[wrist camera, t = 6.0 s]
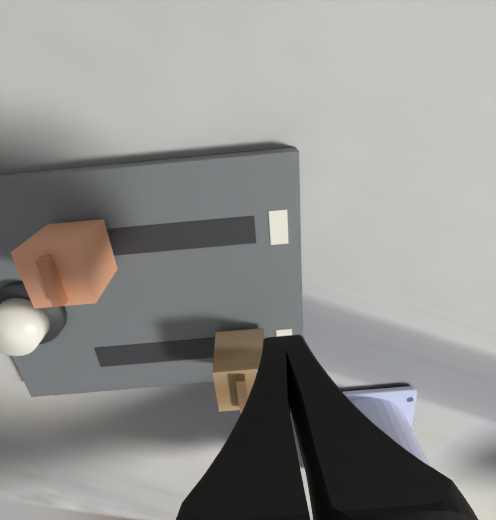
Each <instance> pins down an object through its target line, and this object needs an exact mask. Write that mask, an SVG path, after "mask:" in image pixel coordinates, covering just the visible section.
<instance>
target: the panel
mask: <svg viewBox="0 0 496 520" xmlns="http://www.w3.org/2000/svg"><path fill="white" fill-rule="evenodd" d="M99 219H104V222H105V226H106V229H107V233H108V236H109V240H110V243H111V247H112V250H113V254H114V258H115V261H116V265H117V268H118V269H117V271H116V272H115V274H114V276H113V277H112V279H111V280H110V282H109V283H108V285H107V287H106V288H105V290H104V291H103V293H102V294H101V296H100V298H99V299H98V301H97V302H96V303H93V304H82V305H70V306H60V307H47V308H42V309H43V310H44V311H45V312H46V314H47V315H48V317H49V320H50V328H49V331H48V332H47V334H46V335H45V336H44V338H43V339H42V340H41V342H40V343H39V344H38V346H37V347H36V348H35V349H34V351H32V352H31V353H29V354H26V355H22V356H12V355H11V356H12V358H13V360H14V362H15V364H16V366H17V368H18V370H19V372H20V374H21V376H22V378H23V380H24V382H25V385H26V387H27V389H28V391H29V393H30V395H31V397H37V396H49V395H61V394H73V393H85V392H97V391H109V390H121V389H134V388H146V387H158V386H170V385H182V384H194V383H206V382H214V380H213V375H212V369H213V358H214V346H215V335H216V332H223V331H235V330H246V329H258V328H264V338H267V337H278V336H288V335H299V334H300V335H301V336H303V319H302V274H301V228H300V183H299V151H298V150H297V148H296V147H291V148H280V149H270V150H259V151H248V152H237V153H227V154H216V155H205V156H194V157H184V158H173V159H162V160H151V161H141V162H130V163H119V164H109V165H98V166H87V167H76V168H66V169H55V170H44V171H33V172H23V173H12V174H1V175H0V304H1V303H2V302H3V301H5V300H8V299H12V298H21V299H26V300H29V301H31V300H30V297H29V295H28V293H27V290H26V288H25V286H24V283H23V281H22V279H21V276H20V274H19V271H18V269H17V267H16V264H15V262H14V260H13V257H12V255H11V252H12V251H13V250H14V249H16V248H17V247H18V246H20V245H21V244H22V243H24V242H25V241H26V240H28V239H29V238H30V237H32V236H33V235H34V234H35V233H37V232H38V231H39V230H41V229H42V228H43V227H45V226H46V225H47V224H55V223H66V222H77V221H88V220H99Z"/></svg>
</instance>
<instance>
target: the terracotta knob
mask: <svg viewBox="0 0 496 520" xmlns="http://www.w3.org/2000/svg"><path fill="white" fill-rule="evenodd" d="M11 255H12V257H13V260H14V262H15V264H16V267H17V269H18V271H19V274H20V276H21V279H22V281H23V283H24V286H25V288H26V290H27V293H28V295H29V297H30V300H31V302H32V304H33V307H34V309H35V308H47V307H60V306H70V305H82V304H93V303H96V302H97V301H98V299H99V298H100V296H101V294H102V293H103V291H104V290H105V288H106V287H107V285H108V283H109V282H110V280H111V279H112V277H113V276H114V274H115V272H116V271H117V269H118V268H117V265H116V261H115V258H114V254H113V250H112V247H111V243H110V240H109V236H108V233H107V229H106V226H105V222H104V219H99V220H88V221H77V222H66V223H55V224H47V225H46V226H45V227H43V228H42V229H41V230H39V231H38V232H37V233H35V234H34V235H33V236H32V237H30V238H29V239H28V240H26V241H25V242H24V243H22V244H21V245H20V246H18V247H17V248H16V249H14V250H13V251H12V252H11Z"/></svg>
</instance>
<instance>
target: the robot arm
mask: <svg viewBox="0 0 496 520" xmlns="http://www.w3.org/2000/svg"><path fill="white" fill-rule="evenodd" d="M416 397H417V391H416V389H415V388H414V387H412V386H406V387H394V388H382V389H370V390H357V391H345V392H342V391H341V390H340V389H339V388H338V386H337V385H336V384H335V383H334V382H333V381H332V379H331V378H330V377H329V375H328V374H327V373H326V372H325V370H324V369H323V368H322V366H321V365H320V364H319V362H318V361H317V359H316V358H315V356H314V355H313V353H312V352H311V350H310V349H309V347H308V345H307V344H306V342H305V340H304V338H303V336H301V335H300V334H299V335H288V336H278V337H267V338H265V339H264V340H263V349H262V355H261V360H260V364H259V368H258V371H257V374H256V378H255V381H254V384H253V386H252V389H251V392H250V394H249V397H248V399H247V402H246V404H245V406H244V409H243V411H242V413H241V415H240V417H239V419H238V421H237V423H236V425H235V427H234V429H233V430H232V432H231V434H230V436H229V438H228V439H227V441H226V443H225V444H224V446H223V448H222V449H221V451H220V452H219V454H218V455H217V457H216V458H215V460H214V461H213V463H212V464H211V466H210V467H209V469H208V470H207V472H206V473H205V474H204V476H203V477H202V478H201V480H200V481H199V482H198V483H197V485H196V486H195V487H194V488H193V490H192V491H191V492H190V493H189V495H188V496H187V497H186V499H185V500H184V501H183V502H182V505H181V507H180V510H179V513H178V515H177V518H176V520H310V516H309V511H308V506H307V501H306V496H305V491H304V486H303V481H302V476H301V471H300V466H299V461H298V455H297V450H296V445H295V439H294V434H293V428H292V422H291V416H290V409H291V414H292V418H293V422H294V426H295V430H296V434H297V438H298V442H299V446H300V450H301V455H302V459H303V463H304V467H305V472H306V477H307V482H308V488H309V494H310V501H311V507H312V514H313V520H478V519H477V517H476V515H475V513H474V512H473V510H472V508H471V507H470V505H469V504H468V502H467V501H466V499H465V498H464V496H463V495H462V494H461V492H460V491H459V489H458V488H457V486H456V485H455V484H454V482H453V481H452V480H451V479H449V478H447V477H446V476H444V475H443V474H441V473H440V472H438V471H437V470H435V469H433V468H432V467H431V466H430V464H429V462H428V460H427V458H426V456H425V454H424V452H423V450H422V448H421V446H420V444H419V442H418V440H417V438H416V436H415V434H414V432H413V430H412V428H411V426H412V421H413V415H414V409H415V403H416Z"/></svg>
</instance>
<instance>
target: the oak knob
mask: <svg viewBox="0 0 496 520" xmlns="http://www.w3.org/2000/svg"><path fill="white" fill-rule="evenodd" d="M264 339H265V338H264V328H258V329H246V330H235V331H223V332H216V335H215V346H214V358H213V369H212V375H213V380H214V386H215V392H216V398H217V403H218V409H219V412H222V411H234V410H240V414H241V413H242V411H243V409H244V406H245V404H246V402H247V399H248V397H249V394H250V392H251V389H252V386H253V384H254V381H255V378H256V374H257V371H258V368H259V364H260V360H261V355H262V349H263V340H264Z"/></svg>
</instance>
